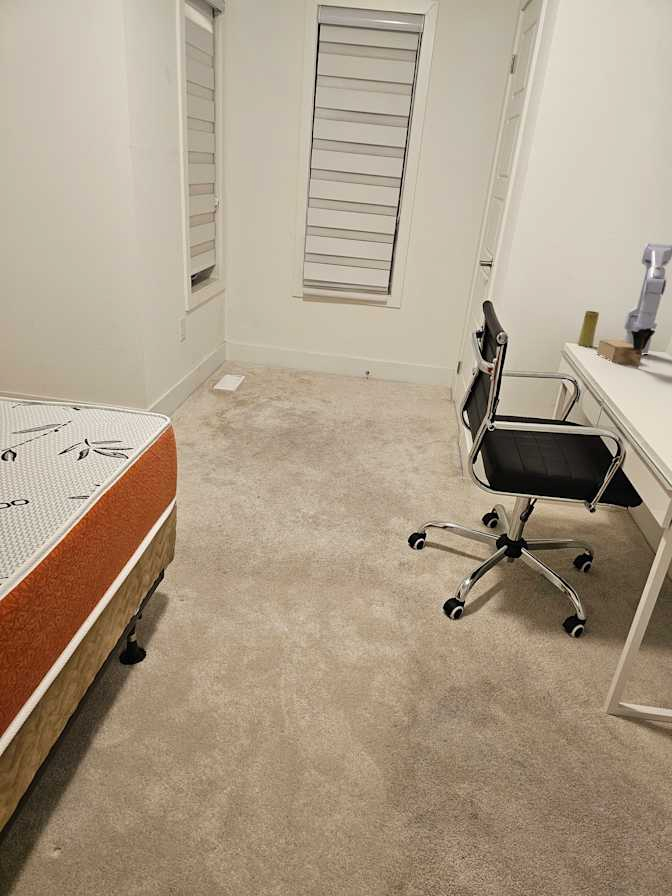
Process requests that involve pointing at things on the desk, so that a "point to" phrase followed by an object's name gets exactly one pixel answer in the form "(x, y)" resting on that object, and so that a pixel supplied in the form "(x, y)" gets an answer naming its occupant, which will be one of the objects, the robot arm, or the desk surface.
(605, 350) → the carton
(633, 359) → the wooden paddle
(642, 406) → the desk surface
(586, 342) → the vase
